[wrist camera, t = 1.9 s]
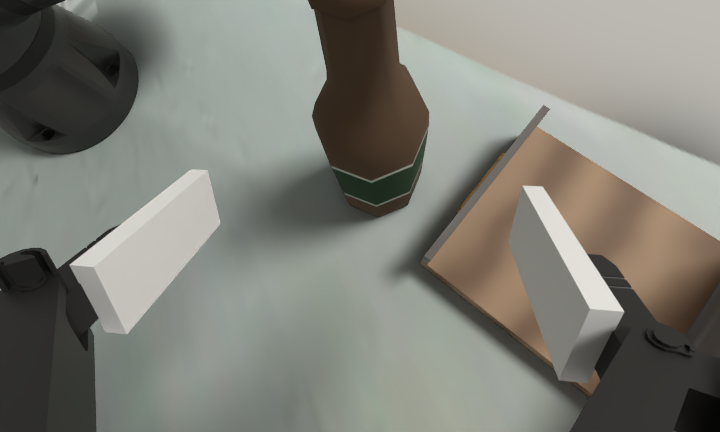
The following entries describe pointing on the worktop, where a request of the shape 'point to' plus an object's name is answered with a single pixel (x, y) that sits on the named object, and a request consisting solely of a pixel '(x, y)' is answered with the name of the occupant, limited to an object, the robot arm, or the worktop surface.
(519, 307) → the shelf
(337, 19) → the beer bottle
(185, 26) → the worktop surface
